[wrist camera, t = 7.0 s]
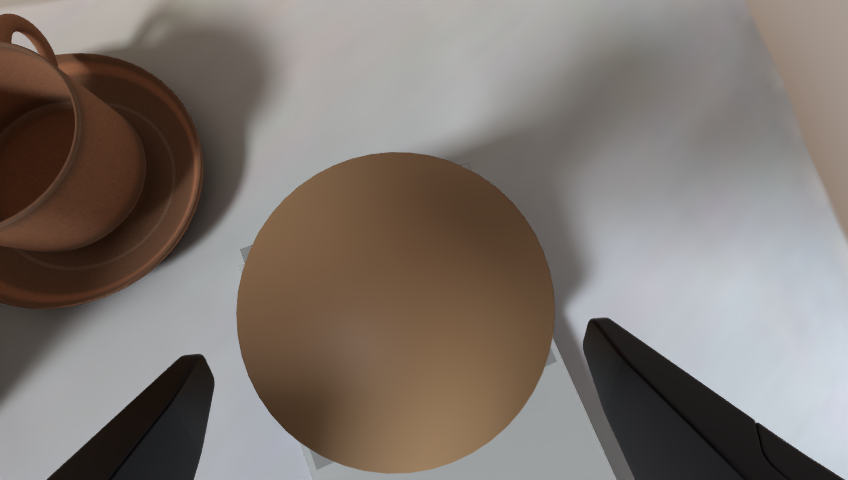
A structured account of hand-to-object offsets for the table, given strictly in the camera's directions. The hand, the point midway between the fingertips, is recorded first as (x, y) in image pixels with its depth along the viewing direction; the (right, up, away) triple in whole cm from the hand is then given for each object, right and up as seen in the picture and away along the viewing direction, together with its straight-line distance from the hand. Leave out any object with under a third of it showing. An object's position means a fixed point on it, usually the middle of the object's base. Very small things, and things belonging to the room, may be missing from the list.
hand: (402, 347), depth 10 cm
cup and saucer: (-16, +5, +11) cm, 20 cm away
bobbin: (-1, -1, +9) cm, 9 cm away
